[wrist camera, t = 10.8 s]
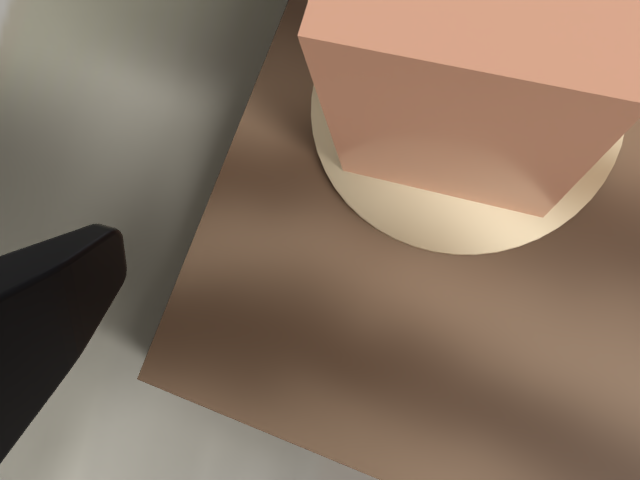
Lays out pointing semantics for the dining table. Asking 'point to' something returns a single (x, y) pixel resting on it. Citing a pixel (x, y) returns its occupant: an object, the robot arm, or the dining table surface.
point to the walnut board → (407, 308)
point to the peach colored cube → (476, 91)
